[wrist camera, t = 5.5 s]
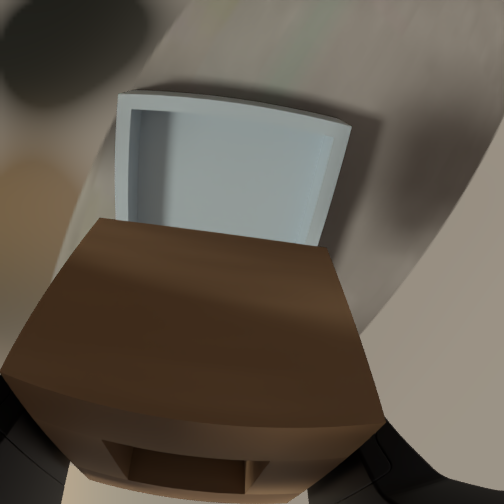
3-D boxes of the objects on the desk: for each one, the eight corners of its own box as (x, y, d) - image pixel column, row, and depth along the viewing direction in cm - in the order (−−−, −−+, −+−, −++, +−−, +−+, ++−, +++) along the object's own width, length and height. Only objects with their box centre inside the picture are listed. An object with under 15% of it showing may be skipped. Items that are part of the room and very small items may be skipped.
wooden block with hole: (264, 408, 13) (269, 513, 8) (128, 391, 12) (106, 494, 8) (326, 247, 8) (385, 422, 4) (99, 217, 8) (-1, 371, 3)
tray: (293, 281, 23) (297, 304, 21) (130, 260, 22) (120, 282, 20) (338, 118, 17) (351, 126, 15) (133, 89, 16) (118, 93, 13)
